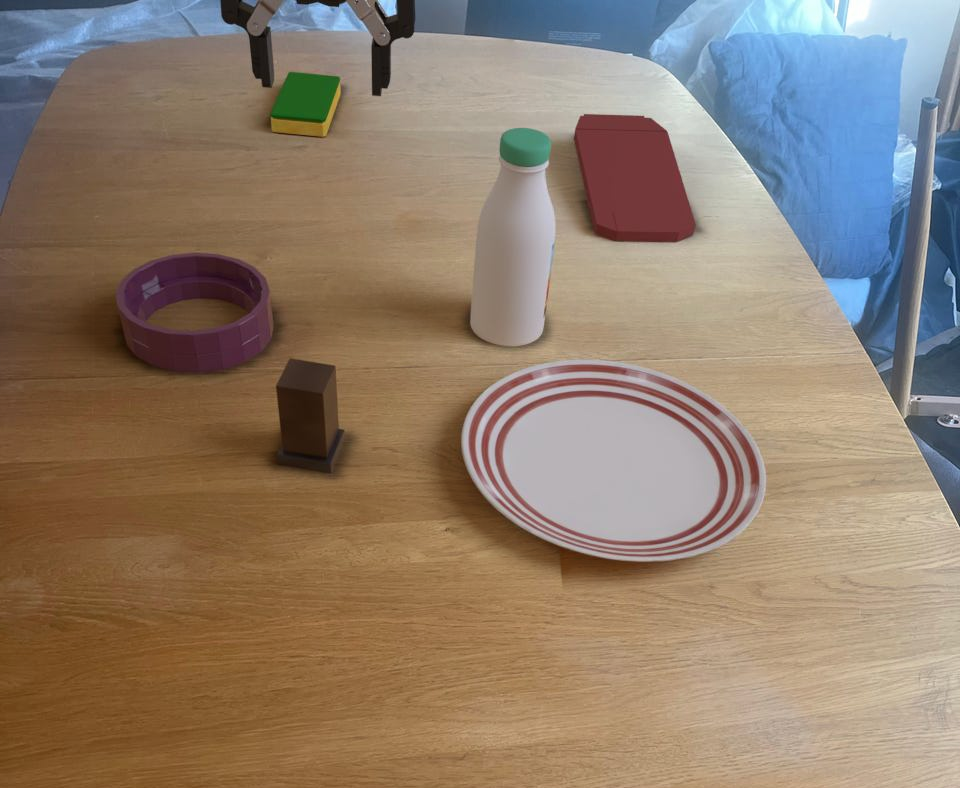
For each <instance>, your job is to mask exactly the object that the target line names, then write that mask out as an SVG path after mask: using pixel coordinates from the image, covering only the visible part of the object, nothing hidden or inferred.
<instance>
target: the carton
mask: <svg viewBox="0 0 960 788" xmlns="http://www.w3.org/2000/svg"><path fill="white" fill-rule="evenodd" d="M574 129H575V130H574V136H573V143H574V147H575V151H576V156H577V160H578V165H579V169H580V173H581V178H582V182H583V186H584V192H585V197H586V200H587V206H588V209H589V214H590V218H591V219H590V220H591V223H592V227H593V231H594V235H597V236H599V237H603V238H606V239H608V240H611V241H614V242H654V243H655V242H657V243H658V242H659V243H661V242H663V243H679V242H681V241H683V240H685V239H688V238H690V237H692V236H694V233H695V231H696V227H697V225H696V221H695V218H694V215H693V211H692V208H691V204H690V201H689V197H688V195H687V190H686V188H685V185H684V181H683V178H682V174H681V171H680V168H679V165H678V161H677V158H676V154H675V151H674V148H673V145H672V141H671V139H670V135H669V132H668V130H667V129H666V128H664V127H663V126H662V125H661V124H659V123H658V122H657V121H656V120H654V119H653V118H652V117H645V115H635V114H634V115H629V114H627V115H626V114H600V113H599V114H598V113H597V114H594V113H584V114H583V115H580V116H579V119H578V121H577V123H576V126H575V128H574Z"/></svg>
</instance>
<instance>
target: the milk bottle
mask: <svg viewBox="0 0 960 788" xmlns="http://www.w3.org/2000/svg"><path fill="white" fill-rule="evenodd" d="M551 150H552V142H551V139H550V137H549V136H548V135H547V134H546V133H544V132H543V131H541V130H537V129H535V128H529V127H514V128H510V129H507V130H506V131H504V132H503V133H502V134H501V136H500V140H499V156H498V161H499V163H500V169H499V171H498V175H497V177H496V180H495V182H494V185H493V186H492V188H491V190H490V192H489V193H488V195H487V197H486V200H485V201H484V204H483V205H482V208H481V211H480V214H479V218H478V221H477V222H478V223H477V230H476V240H475V249H474V263H473V276H472V277H473V278H472V291H471V301H470V303H471V304H470V317H469V319H470V320H469V321H470V323H469V324H470V325H469V326H470V328H471V330H472V332H473V333H474V334H475V335H476V336H477V337H478V338H480V339H481V340H483V341H485V342H487V343H490V344H494V345H497V346H501V347H502V346H503V347H520V346H525V345H529V344H531V343H533V342H535V341H537V340H538V339H539V338H540V337H541V335H542V334H543V332H544V327H545V320H546V313H547V305H548V300H549V299H548V298H549V291H550V283H551V275H552V269H553V260H554V251H555V242H556V215H555V210H554V206H553V203H552V199H551V196H550V193H549V189H548V185H547V180H546V169H547V168H548V167H549V165H550V161H549V159H550V156H551Z"/></svg>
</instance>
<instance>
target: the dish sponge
mask: <svg viewBox="0 0 960 788" xmlns="http://www.w3.org/2000/svg"><path fill="white" fill-rule="evenodd" d="M341 89H342V88H341V77H340V76H339V75H328V74H317V73H309V72H308V73H307V72H298V71H289V72H287V75H286V78H285V79H284V82H283V84H282V86H281V88H280V91H279V93H278V96H277V98H276V100H275V102H274V105H273V107H272V108H271V111H270V113H269V114H270V126H271V131H272V132H273V133H281V134H290V135H301V136H310V137H311V136H312V137H320V138H324V137H326V136H327V135H328V132H329V129H330V126H331V123H332V120H333V117H334V115H335V112H336V110H337V106H338V104H339V100H340V97H341V94H342V93H341Z"/></svg>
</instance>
